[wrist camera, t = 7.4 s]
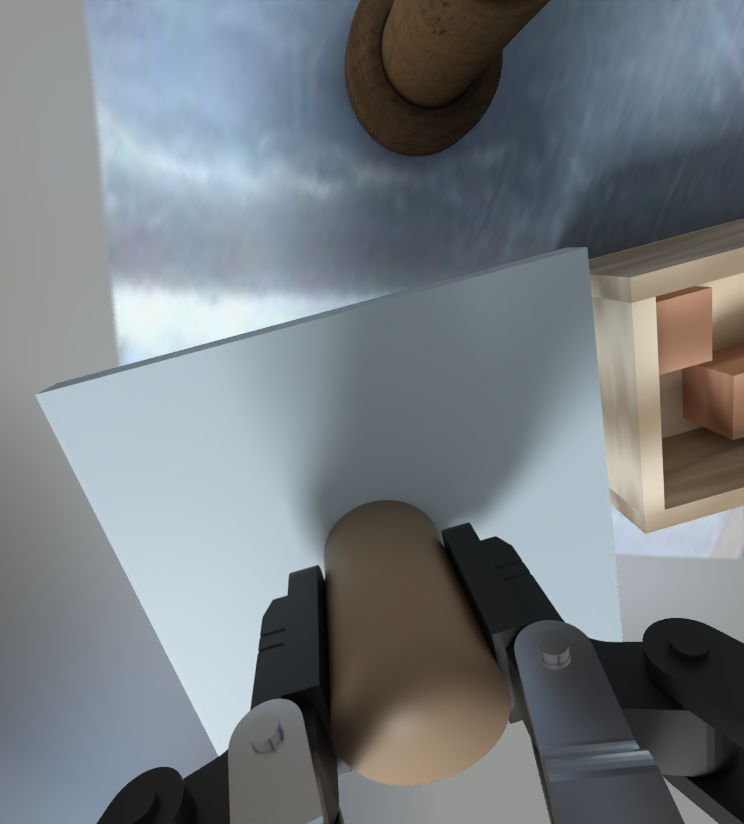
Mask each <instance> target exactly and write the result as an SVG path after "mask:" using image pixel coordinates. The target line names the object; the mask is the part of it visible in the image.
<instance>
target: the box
mask: <svg viewBox="0 0 744 824" xmlns="http://www.w3.org/2000/svg"><path fill="white" fill-rule="evenodd" d="M589 271H590V282H591V293H592V304H593V315H594V326H595V337H596V349H597V360H598V371H599V382H600V393H601V404H602V415H603V427H604V438H605V449H606V460H607V471H608V482H609V493H610V504H611V505H612V506H613V507H615V508H616V509H617V510H618V511H619V512H621V513H622V514H623V515H624V516H625V517H626V518H628V519H629V520H630V521H631V522H632V523H634V524H635V525H636V526H637V527H638V528H639V529H641V530H642V531H643V532H644V533H645V534H646V533H649V532H653V531H656V530H660V529H663V528H667V527H670V526H674V525H677V524H681V523H684V522H688V521H691V520H694V519H698V518H701V517H705V516H708V515H712V514H715V513H719V512H722V511H726V510H729V509H733V508H736V507H740V506H743V505H744V437H742V438H738V439H735V440H732V439H729V438H727V437H725V436H723V435H721V434H718V433H716V432H714V431H712V430H709V429H707V428H705V427H703V426H701V425H698V424H696V423H694V422H692V421H689V420H687V419H685V418H683V387H682V369H679V370H676V371H672V372H668V373H665V374H661V375H659V364H658V341H657V317H656V296H660V295H663V294H667V293H671V292H674V291H678V290H682V289H685V288H689V287H693V286H704V287H712V352H714V351H718V350H721V349H725V348H729V347H732V346H736V345H740V344H743V345H744V218H742V219H738V220H735V221H731V222H727V223H723V224H720V225H716V226H712V227H708V228H705V229H701V230H697V231H693V232H690V233H686V234H682V235H678V236H675V237H671V238H667V239H663V240H660V241H656V242H652V243H649V244H645V245H641V246H637V247H634V248H630V249H626V250H622V251H619V252H615V253H611V254H607V255H604V256H600V257H596V258H592V259H589Z"/></svg>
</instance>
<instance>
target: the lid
mask: <svg viewBox="0 0 744 824" xmlns="http://www.w3.org/2000/svg"><path fill="white" fill-rule="evenodd" d="M35 396H36V398H37V400H38V402H39V403H40V406H41V408H42V410H43V412H44V414H45V416H46V418H47V420H48V422H49V424H50V425H51V427H52V429H53V431H54V433H55V435H56V437H57V439H58V441H59V443H60V445H61V447H62V449H63V451H64V453H65V455H66V457H67V459H68V461H69V463H70V465H71V467H72V469H73V471H74V473H75V474H76V476H77V479H78V481H79V482H80V484H81V486H82V488H83V490H84V492H85V494H86V496H87V498H88V500H89V502H90V504H91V506H92V508H93V510H94V512H95V514H96V516H97V518H98V520H99V522H100V524H101V526H102V528H103V530H104V531H105V534H106V536H107V538H108V539H109V541H110V543H111V545H112V547H113V549H114V551H115V553H116V555H117V557H118V559H119V561H120V563H121V565H122V567H123V569H124V571H125V573H126V575H127V577H128V579H129V581H130V583H131V585H132V587H133V589H134V590H135V593H136V594H137V596H138V598H139V600H140V602H141V604H142V606H143V608H144V610H145V612H146V614H147V616H148V618H149V620H150V622H151V624H152V626H153V628H154V630H155V632H156V634H157V636H158V638H159V640H160V642H161V644H162V645H163V647H164V650H165V651H166V653H167V655H168V657H169V659H170V661H171V663H172V665H173V667H174V669H175V671H176V673H177V675H178V677H179V679H180V681H181V683H182V685H183V687H184V689H185V691H186V693H187V695H188V697H189V699H190V701H191V702H192V704H193V707H194V708H195V710H196V712H197V714H198V716H199V718H200V720H201V722H202V724H203V726H204V728H205V730H206V732H207V734H208V736H209V738H210V740H211V742H212V744H213V746H214V748H215V750H216V752H217V754H218V756H220V755H221V754H223V753H224V752H225V751H226V750H227V749H228V746H229V741H230V738H231V735H232V733H233V731H234V729H235V727H236V726H237V724H238V723H239V722H240V720H241V719H242V718H243V717H244V716H245V715H246V714H247V713H248V712H249V711H250V708H251V700H252V692H253V685H254V677H255V670H256V662H257V655H258V653H259V651H258V647H259V639H260V638H261V637H260V632H261V624H262V617H263V615H264V614H265V612H266V610H267V609H268V607H269V605H270V604H271V602H272V600H273V599H277V598H280V597H284V596H287V595H288V580H289V574H290V573H291V572H295V571H298V570H302V569H305V568H309V567H312V566H316V565H319V566H320V568H321V571H322V573H323V576H324V579H325V595H326V619H327V642H328V666H329V690H330V713H331V715H330V716H331V733H332V740H333V743H334V746H335V748H336V750H337V752H338V754H339V756H340V757H341V758H342V760H343V761H344V762H345V763H346V764H347V765H348V766H349V767H350V768H351V769H353V770H354V771H355V772H357V773H358V774H360V775H362V776H364V777H366V778H368V779H371V780H374V781H377V782H382V783H385V784H392V785H420V784H426V783H431V782H435V781H439V780H442V779H445V778H448V777H451V776H453V775H455V774H457V773H460V772H461V771H463V770H465V769H467V768H469V767H470V766H472V765H473V764H475V763H476V762H477V761H479V760H480V759H481V758H482V757H484V756H485V755H486V754H487V753H488V752H489V751H490V750H491V749H492V748H493V747H494V746H495V744H496V743H497V741H498V740H499V739H500V737H501V736H502V734H503V732H504V730H505V728H506V725H507V723H508V720H509V716H510V711H511V698H510V692H509V688H508V685H507V683H506V681H505V679H504V676H503V674H502V672H501V670H500V668H499V666H498V664H497V662H496V660H495V658H494V655H493V653H492V651H491V649H490V647H489V644H488V642H487V640H486V638H485V636H484V633H483V631H482V629H481V627H480V624H479V622H478V620H477V618H476V616H475V613H474V611H473V609H472V607H471V605H470V602H469V600H468V598H467V596H466V594H465V591H464V589H463V587H462V585H461V582H460V580H459V578H458V576H457V574H456V571H455V569H454V567H453V565H452V563H451V560H450V558H449V556H448V554H447V551H446V549H445V547H444V543H443V539H442V534H441V530H443V529H447V528H450V527H454V526H457V525H461V524H464V523H468V522H469V523H470V524H471V525H472V527H473V529H474V530H475V532H476V534H477V536H478V537H479V539H480V540H484V539H487V538H491V537H494V536H497V537H498V538H500V539H502V540H503V541H505V542H507V543H508V544H510V545H512V546H513V548H514V549H515V550H516V552H517V553H518V555H519V556H520V558H521V559H522V562H523V563H524V564H525V565H526V567H527V568H528V569H529V571H530V573H531V575H533V577H534V578H535V580H536V581H537V583H538V584H539V585H540V587H541V588H542V590H543V591H544V593H545V594H546V596H547V597H548V599H549V600H550V602H551V603H552V604H553V606H554V607H555V609H556V610H557V612H558V613H559V615H560V616H561V618H562V619H563V620H564V621H565V623H569V624H571V625H573V626H575V627H577V628H578V629H580V630H581V631H582V632H583V633H585V634H586V636H587V637H589V638H592V639H595V640H599V641H606V642H623V639H622V627H621V616H620V605H619V594H618V583H617V571H616V560H615V549H614V538H613V527H612V516H611V505H610V493H609V482H608V471H607V460H606V449H605V438H604V427H603V415H602V404H601V393H600V382H599V371H598V360H597V349H596V337H595V326H594V315H593V304H592V293H591V282H590V271H589V259H588V248H587V247H567V248H562V249H559V250H555V251H551V252H547V253H544V254H540V255H536V256H532V257H529V258H525V259H521V260H517V261H514V262H510V263H506V264H502V265H499V266H495V267H491V268H487V269H484V270H480V271H476V272H472V273H469V274H465V275H461V276H457V277H454V278H450V279H446V280H443V281H439V282H435V283H431V284H428V285H424V286H420V287H416V288H413V289H409V290H405V291H401V292H398V293H394V294H390V295H386V296H383V297H379V298H375V299H371V300H368V301H364V302H360V303H356V304H353V305H349V306H345V307H341V308H338V309H334V310H330V311H326V312H323V313H319V314H315V315H311V316H308V317H304V318H300V319H296V320H293V321H289V322H285V323H281V324H278V325H274V326H270V327H266V328H263V329H259V330H255V331H252V332H248V333H244V334H240V335H237V336H233V337H229V338H225V339H222V340H218V341H214V342H210V343H207V344H203V345H199V346H195V347H192V348H188V349H184V350H180V351H177V352H173V353H169V354H165V355H162V356H158V357H154V358H150V359H147V360H143V361H139V362H135V363H132V364H128V365H124V366H120V367H117V368H113V369H109V370H106V371H102V372H98V373H95V374H91V375H87V376H83V377H79V378H75V379H72V380H68V381H65V382H61V383H57V384H55V385H53V386H51V387H49V388H47V389H45V390H43V391H42V392H40V393H38V394H36V395H35Z"/></svg>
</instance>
